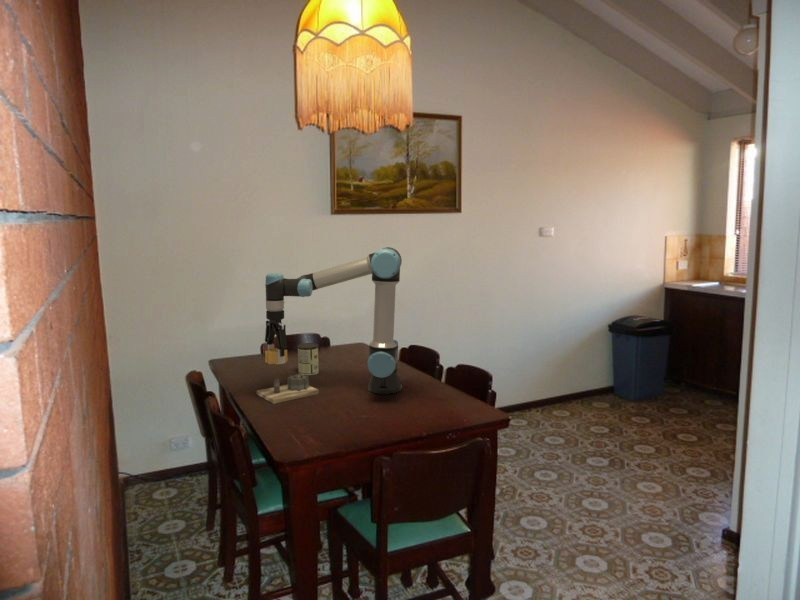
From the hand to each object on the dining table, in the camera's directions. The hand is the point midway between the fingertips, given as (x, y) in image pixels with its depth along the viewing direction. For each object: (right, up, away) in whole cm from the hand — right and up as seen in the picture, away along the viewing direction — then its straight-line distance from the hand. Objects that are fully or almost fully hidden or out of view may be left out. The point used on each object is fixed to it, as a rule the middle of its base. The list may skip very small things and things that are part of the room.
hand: (276, 361), depth 250 cm
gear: (0, 0, 0) cm, 0 cm away
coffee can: (+8, -10, +40) cm, 42 cm away
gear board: (+4, -15, +5) cm, 16 cm away
